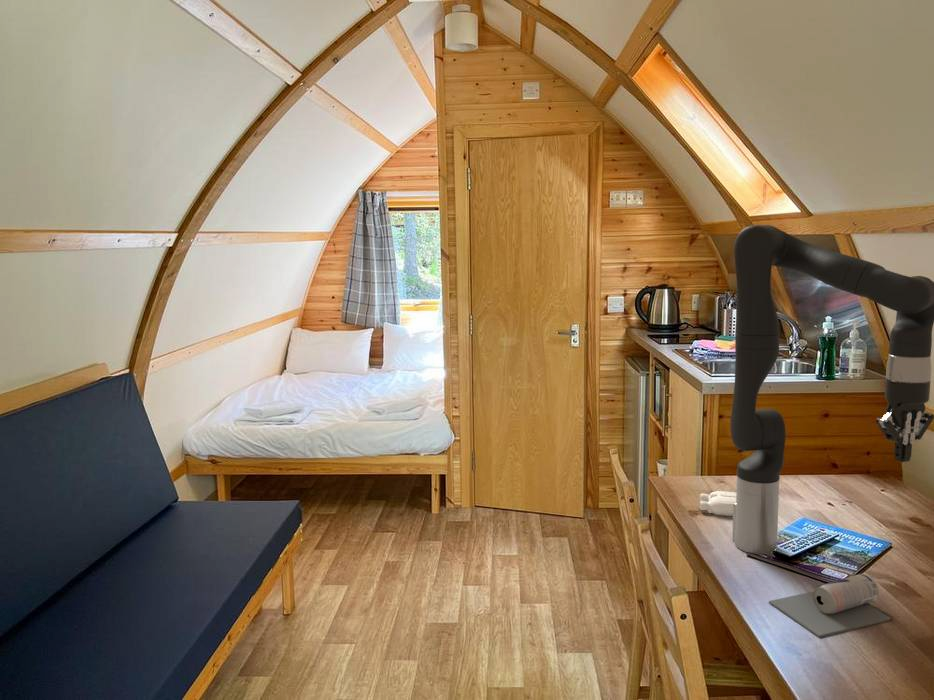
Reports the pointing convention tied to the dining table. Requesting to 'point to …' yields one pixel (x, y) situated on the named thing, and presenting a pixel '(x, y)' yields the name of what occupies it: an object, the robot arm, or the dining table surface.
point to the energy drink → (845, 593)
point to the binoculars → (718, 502)
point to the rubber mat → (826, 615)
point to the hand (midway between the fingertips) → (902, 460)
